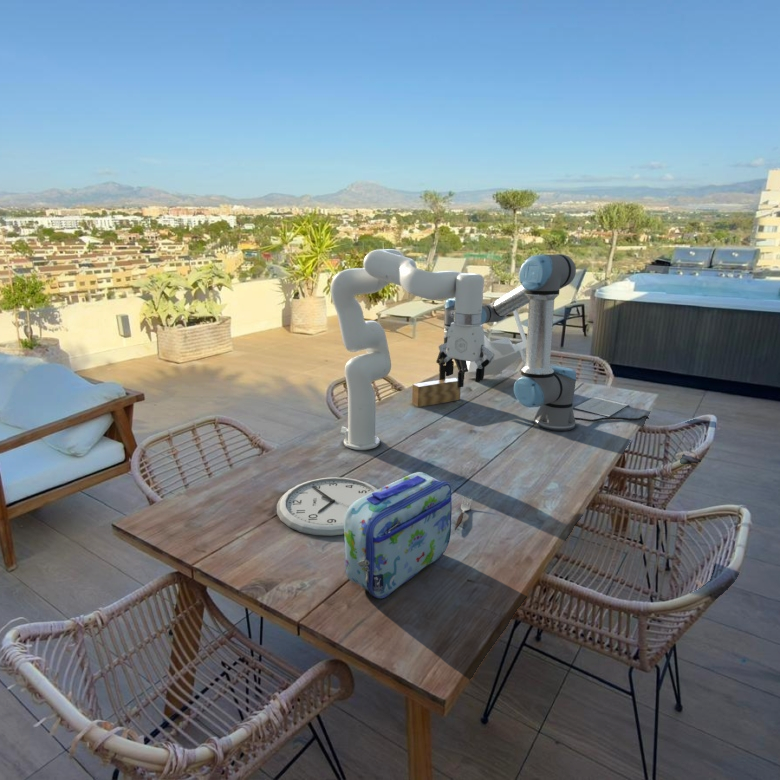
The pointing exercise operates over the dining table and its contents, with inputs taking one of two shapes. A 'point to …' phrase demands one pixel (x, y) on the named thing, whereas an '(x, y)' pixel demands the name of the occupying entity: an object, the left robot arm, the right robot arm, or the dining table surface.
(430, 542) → the lunch box
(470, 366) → the white plastic object
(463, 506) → the fork
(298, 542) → the dining table surface
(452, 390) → the bar
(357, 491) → the wall clock
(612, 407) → the invitation card
